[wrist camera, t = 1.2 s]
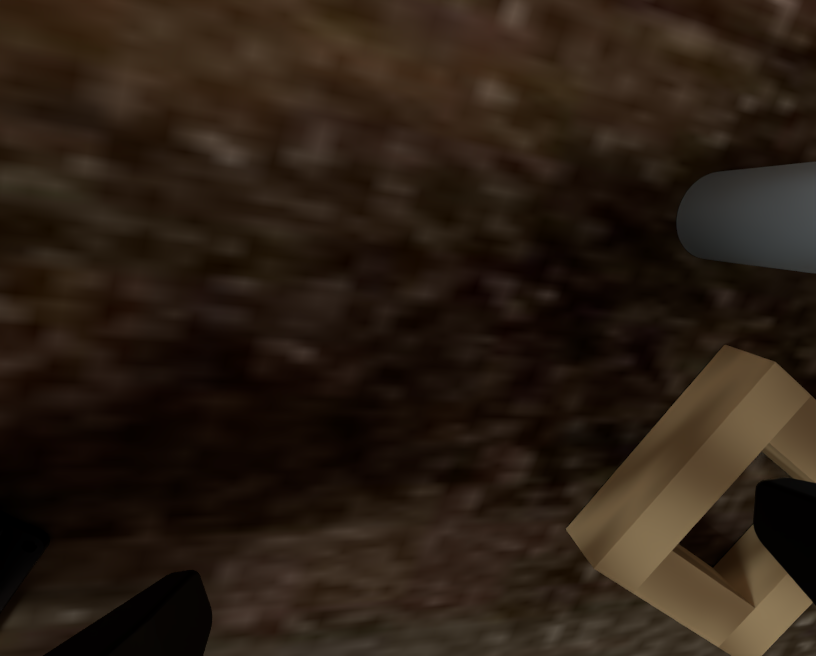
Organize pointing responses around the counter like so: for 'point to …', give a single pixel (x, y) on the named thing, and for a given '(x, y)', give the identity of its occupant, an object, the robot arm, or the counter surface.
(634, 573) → the wooden square frame
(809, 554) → the robot arm
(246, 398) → the counter surface
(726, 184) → the blue-grey cylinder
